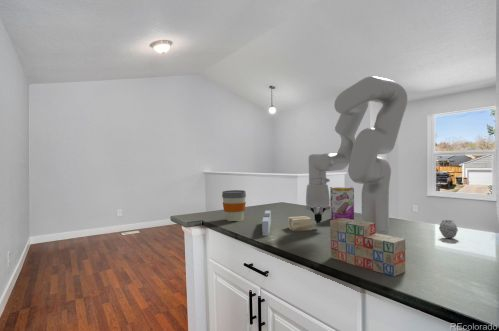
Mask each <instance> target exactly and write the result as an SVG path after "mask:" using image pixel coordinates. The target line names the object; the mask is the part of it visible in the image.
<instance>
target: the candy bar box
mask: <svg viewBox="0 0 499 331" xmlns="http://www.w3.org/2000/svg"><path fill="white" fill-rule="evenodd" d="M354 189H355V188H354V187H353V186H331V187H329V198H330V209H329V214H330V215H329V218H330V220H335V219H339V218H346V219H352V220H355V198H354V197H355V190H354Z"/></svg>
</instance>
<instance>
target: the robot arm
mask: <svg viewBox="0 0 499 331" xmlns="http://www.w3.org/2000/svg"><path fill="white" fill-rule="evenodd" d="M336 96H337V97H336V98H335V100H334V106H333V107H334V110H335V111H336V113H338V114H340V115H339V118H338V120H337V121H336V125H335V126H334V131H335V132H336V133H337V134H338V135H339V136H340V141H341V142H340V145H339V148H338V151H337V152H330V153H313V154H312V153H311V154H310V155H308V184H307V185H306V190H305V191H306V192H305V193H306V195H305V206H306V207H305V209H306V210H307V211H311V212H312V213H313V214H314V222H315V223H316V224H321V222H322V221H323V216H322V215H323V213H324V212H326V211H328V210H329V211H330V188H329V185H328V184H327V183H330V178H327V172H333V171H342V170H345V169H346V168H348V169H347V172H348V176H349V178H350V179H351V181H352V182H353V183H356V184H360V185H361V184H362V188H361V221H365V222H371V223H375V231H376V232H375V234H376V233H377V234H383V235H388V236H390V208H389V207H390V203H389V201H390V198H389V197H390V196H389V194H390V192H389V191H390V180H391V174H392V168H391V165H390V163H389V162H388V161H387V160H386V159H385V158H383V157H381V156H378V155H386V154H387V155H388V154H389V153H391V152H392V151H393V150H394V148H395V145H396V142H397V139H398V136H399V132H400V128H401V125H402V121H403V118H404V114H405V113H406V110H407V106H408V94H407V91H406V89H405V88H404V86H402V84H400V83H399V82H397V81H394V80H391V79H388V78H385V77H378V76H375V75H373V76H372V75H370V76H367V77H364V78H363V79H360V80H359V81H357V82H356V83H354V84H352V85H351V86H349V87H347V88H346V89H345V90H343V91H341V92H340V93H339V94H338V95H336ZM369 102H374V103H381V104H382V107H380V109H379V110H378V113H377V115H376V119H375V122H374V125H373V127H367V128H364V129H362V130H361V131H359V133H358V134H357V136H356V133H357V131H358V129H359V127H360V125H361V123H362V122H363V121H362V120H363V119H364V117H365V114H366V112H367V111H368V110H367V109H368V107H369ZM355 137H356V138H355ZM317 208H319V209H318V210H319V211H318V212H317Z"/></svg>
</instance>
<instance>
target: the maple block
mask: <svg viewBox="0 0 499 331" xmlns="http://www.w3.org/2000/svg"><path fill="white" fill-rule="evenodd" d="M287 218H288V219H287V220H288V221H287V222H288V229H290V230H291V231H292V232H298V231H301V232H302V231H312V230H314V228H313V227H314V226H313V225H314V221H313V220H314V219H313V218H312V217H310V216H307V215H304V216H303V215H301V216H289V217H287Z"/></svg>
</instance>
